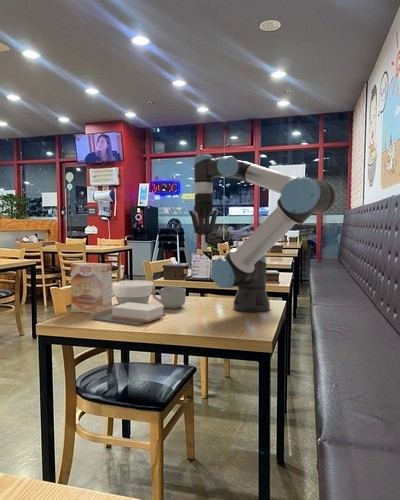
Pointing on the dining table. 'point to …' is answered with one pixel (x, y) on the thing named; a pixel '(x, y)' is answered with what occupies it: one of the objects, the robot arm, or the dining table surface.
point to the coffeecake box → (90, 287)
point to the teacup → (171, 297)
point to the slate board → (107, 317)
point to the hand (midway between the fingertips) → (204, 250)
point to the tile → (137, 311)
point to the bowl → (132, 291)
